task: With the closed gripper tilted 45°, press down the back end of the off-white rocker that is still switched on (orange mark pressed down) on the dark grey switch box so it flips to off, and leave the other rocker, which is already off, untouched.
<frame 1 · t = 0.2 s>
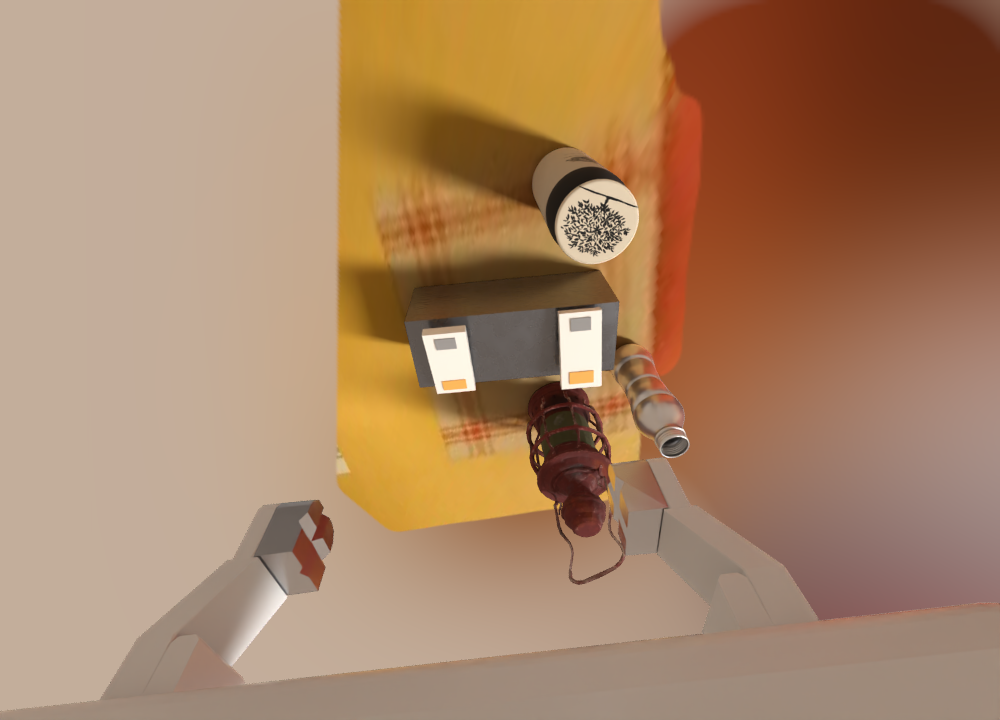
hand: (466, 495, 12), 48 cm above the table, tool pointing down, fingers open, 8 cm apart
plastic bottle: (626, 355, 68), on the table
switch box: (509, 310, 62), on the table
rocker on: (450, 362, 52), point 12 cm above the table, hinge at 10.0°
travel mug: (563, 182, 53), on the table
lantern: (558, 405, 73), on the table
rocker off: (580, 349, 52), point 12 cm above the table, hinge at -10.0°
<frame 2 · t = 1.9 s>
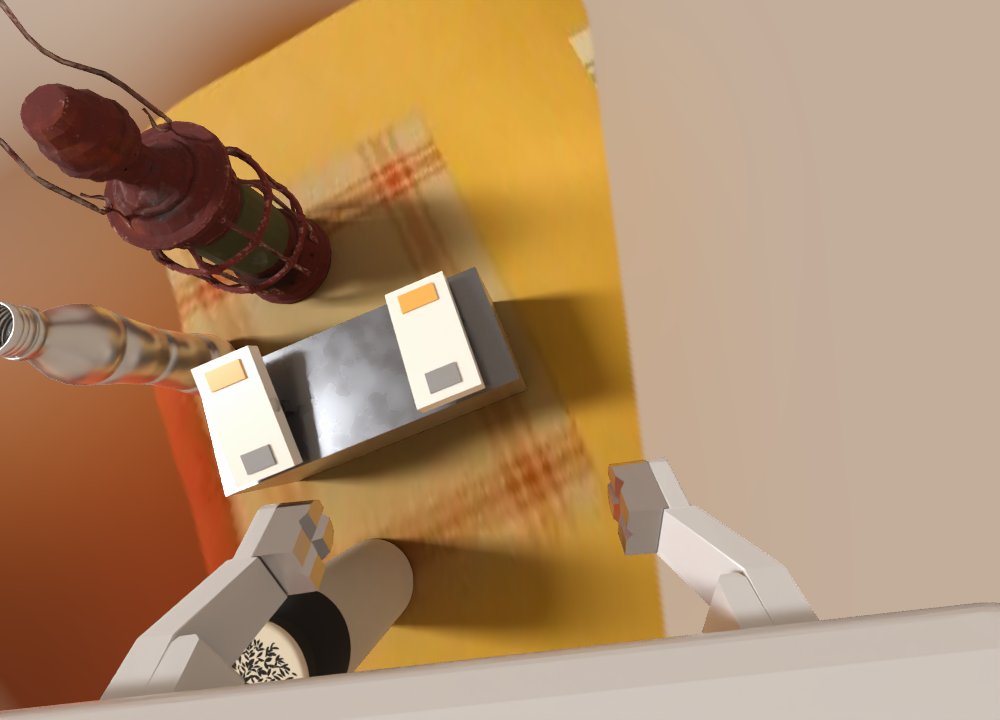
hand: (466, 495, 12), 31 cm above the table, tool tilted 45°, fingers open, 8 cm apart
plastic bottle: (224, 368, 48), on the table
switch box: (395, 391, 45), on the table
rocker on: (432, 339, 32), point 12 cm above the table, hinge at 10.0°
travel mug: (376, 579, 42), on the table
lantern: (290, 261, 49), on the table
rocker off: (246, 416, 33), point 12 cm above the table, hinge at -10.0°
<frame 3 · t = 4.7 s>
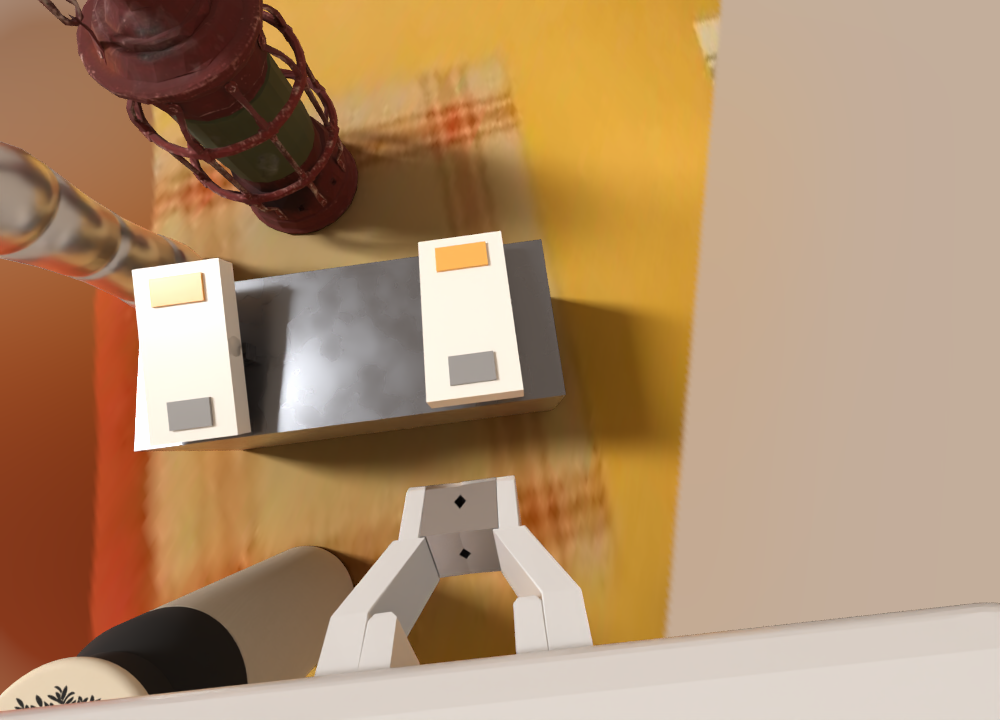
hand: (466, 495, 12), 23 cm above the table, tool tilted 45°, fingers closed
plastic bottle: (189, 289, 39), on the table
switch box: (391, 370, 36), on the table
rocker on: (467, 314, 24), point 12 cm above the table, hinge at 10.0°
travel mug: (306, 599, 33), on the table
lantern: (305, 185, 40), on the table
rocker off: (191, 352, 24), point 12 cm above the table, hinge at -10.0°
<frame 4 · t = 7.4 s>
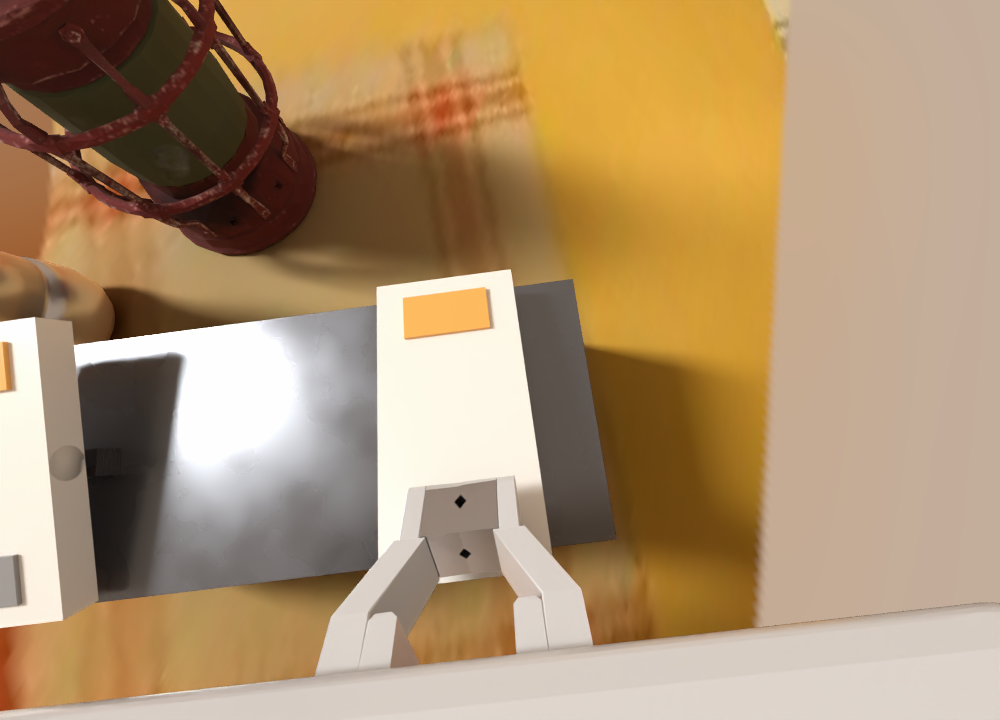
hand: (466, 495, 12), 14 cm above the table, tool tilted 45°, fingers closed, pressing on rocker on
plastic bottle: (88, 329, 29), on the table
switch box: (356, 445, 26), on the table
rocker on: (455, 412, 14), point 12 cm above the table, hinge at 10.0°, touching gripper
lantern: (247, 189, 30), on the table
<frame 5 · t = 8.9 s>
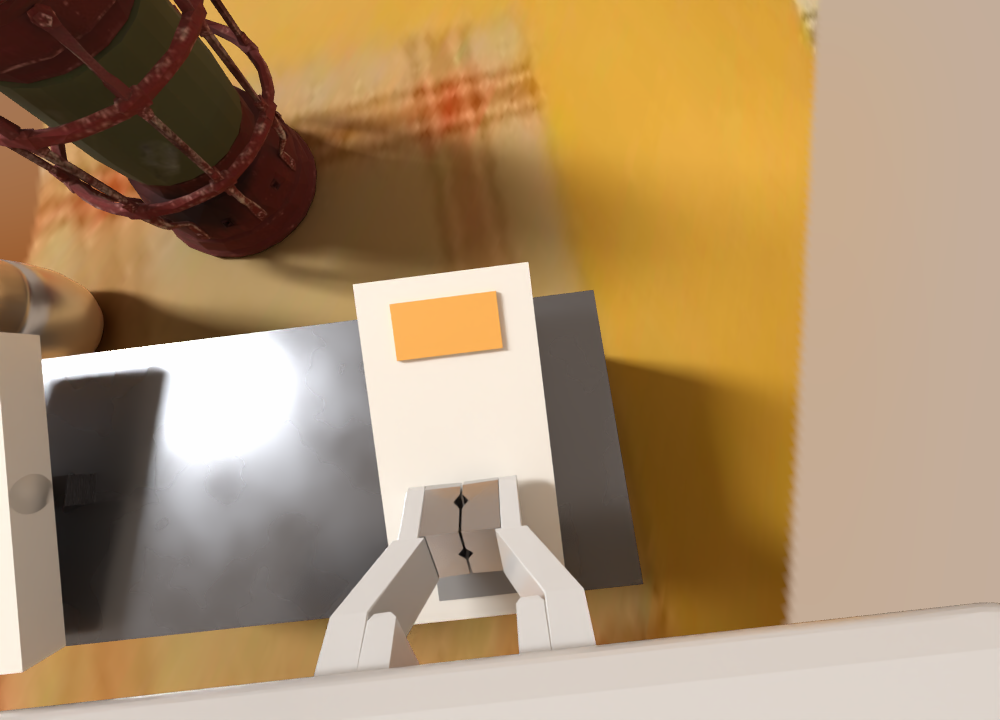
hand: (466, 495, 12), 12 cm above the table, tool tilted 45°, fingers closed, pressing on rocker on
plastic bottle: (76, 335, 27), on the table
switch box: (355, 461, 25), on the table
rocker on: (464, 443, 13), point 12 cm above the table, hinge at -14.2°, touching gripper
lantern: (244, 189, 29), on the table
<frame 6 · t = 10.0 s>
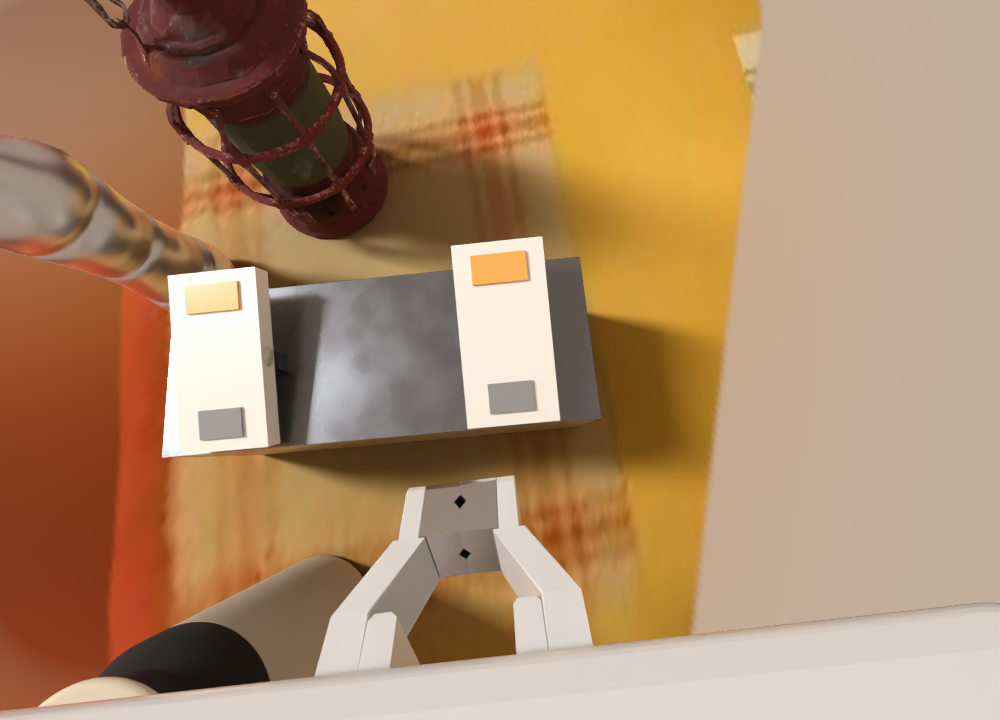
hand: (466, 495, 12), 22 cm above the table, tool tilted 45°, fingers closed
plastic bottle: (215, 290, 38), on the table
switch box: (416, 380, 36), on the table
rocker on: (505, 333, 23), point 12 cm above the table, hinge at -10.4°
travel mug: (323, 609, 32), on the table
lantern: (334, 189, 40), on the table
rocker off: (223, 360, 24), point 12 cm above the table, hinge at -10.0°
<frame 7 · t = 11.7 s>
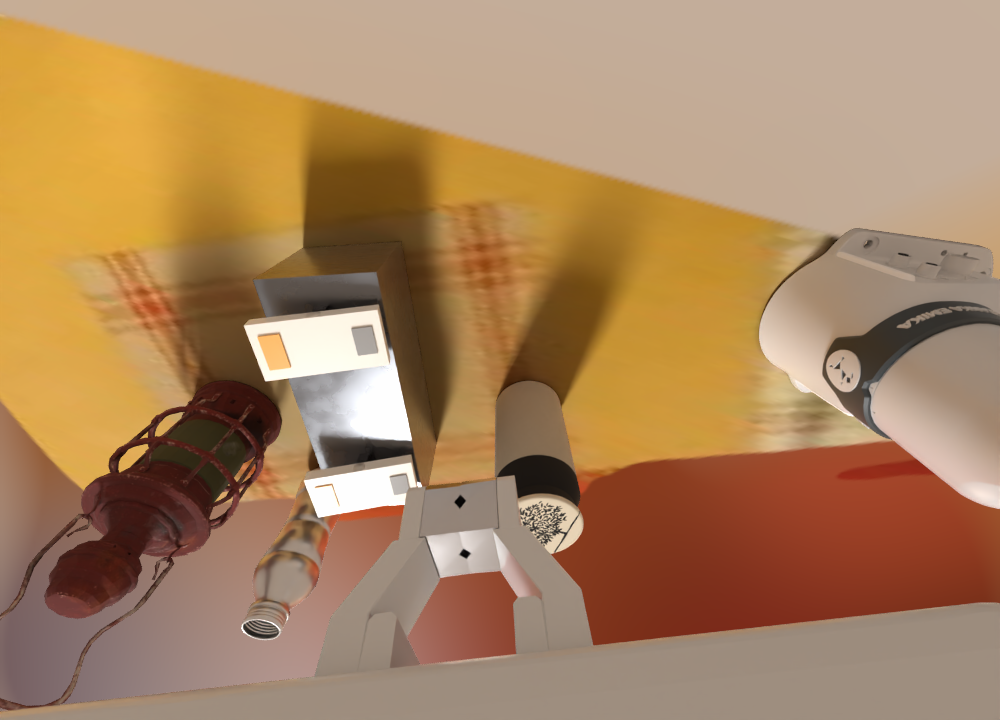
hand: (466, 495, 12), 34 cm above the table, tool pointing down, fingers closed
plastic bottle: (332, 476, 58), on the table
switch box: (378, 357, 49), on the table
rocker on: (321, 343, 34), point 12 cm above the table, hinge at -9.2°
travel mug: (527, 405, 53), on the table
lantern: (239, 414, 53), on the table
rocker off: (364, 486, 42), point 12 cm above the table, hinge at -10.0°
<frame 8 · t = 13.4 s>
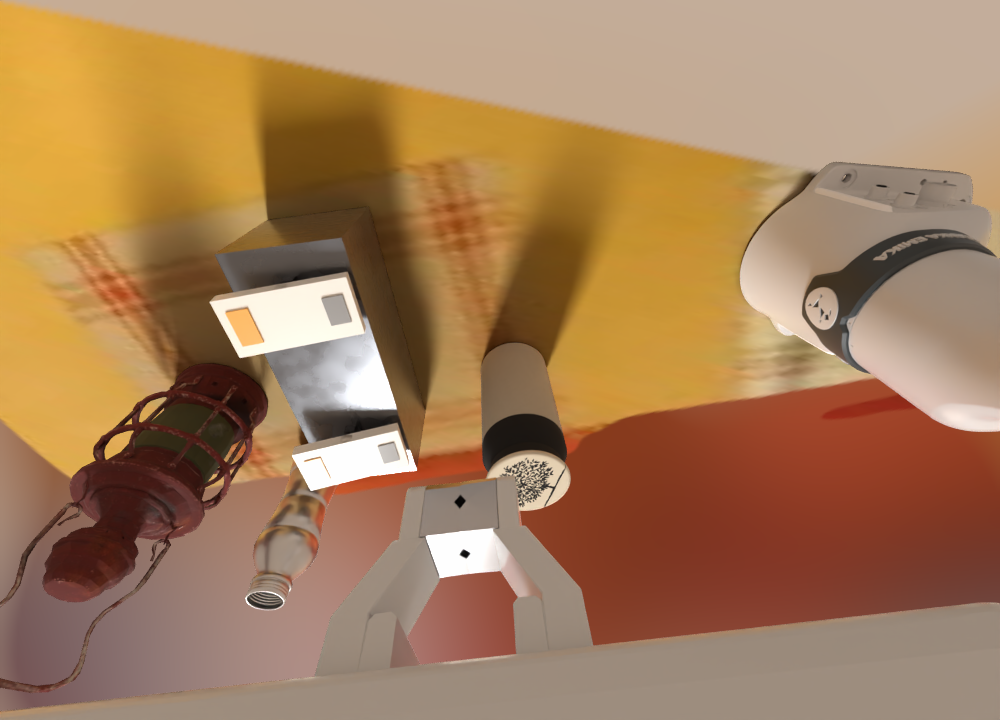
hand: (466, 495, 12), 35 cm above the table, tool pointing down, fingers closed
plastic bottle: (325, 451, 58), on the table
switch box: (357, 329, 48), on the table
rocker on: (292, 315, 34), point 12 cm above the table, hinge at -8.9°
travel mug: (513, 367, 52), on the table
lantern: (224, 396, 53), on the table
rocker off: (353, 457, 42), point 12 cm above the table, hinge at -10.0°
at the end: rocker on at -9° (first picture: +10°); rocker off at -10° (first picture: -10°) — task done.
